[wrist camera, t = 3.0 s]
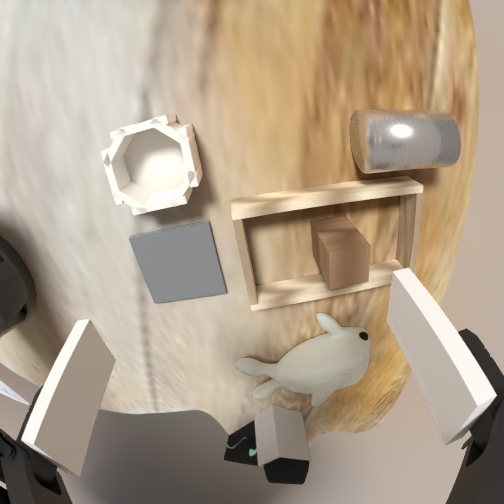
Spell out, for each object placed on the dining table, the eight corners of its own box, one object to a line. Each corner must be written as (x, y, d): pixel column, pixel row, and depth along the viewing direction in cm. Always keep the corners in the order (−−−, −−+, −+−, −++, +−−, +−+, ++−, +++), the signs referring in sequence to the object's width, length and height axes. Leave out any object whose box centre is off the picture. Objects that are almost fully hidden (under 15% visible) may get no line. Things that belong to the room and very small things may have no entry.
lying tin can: (351, 165, 28) (376, 181, 23) (346, 108, 25) (373, 111, 20) (428, 159, 28) (459, 173, 23) (426, 108, 25) (460, 114, 20)
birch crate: (249, 291, 35) (251, 310, 32) (231, 199, 29) (231, 212, 26) (400, 263, 34) (413, 278, 31) (406, 175, 29) (423, 185, 26)
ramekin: (132, 204, 29) (120, 219, 25) (112, 130, 25) (95, 136, 21) (207, 188, 29) (203, 201, 25) (190, 108, 25) (183, 109, 21)
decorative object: (219, 437, 55) (220, 497, 41) (272, 404, 48) (281, 477, 35) (250, 444, 57) (254, 501, 44) (304, 412, 51) (317, 479, 38)
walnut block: (312, 253, 33) (329, 289, 27) (310, 220, 31) (328, 253, 25) (345, 247, 33) (368, 281, 27) (345, 215, 31) (370, 245, 25)
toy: (364, 367, 45) (382, 414, 36) (256, 394, 46) (261, 444, 37) (366, 292, 37) (396, 346, 28) (226, 326, 38) (226, 389, 29)
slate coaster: (155, 300, 35) (154, 303, 34) (130, 236, 31) (129, 238, 30) (226, 290, 35) (226, 293, 34) (208, 220, 30) (208, 222, 30)
